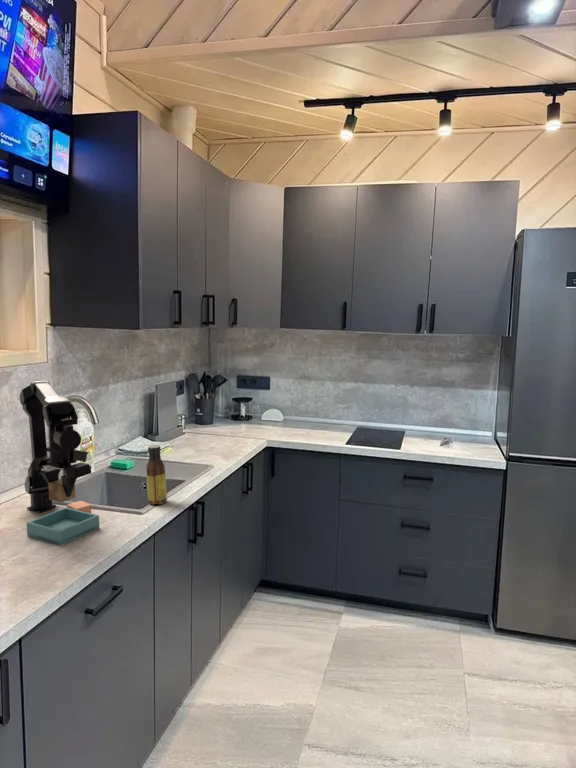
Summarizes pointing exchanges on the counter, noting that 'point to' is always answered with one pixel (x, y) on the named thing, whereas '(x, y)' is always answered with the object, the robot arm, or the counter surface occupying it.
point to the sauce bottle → (156, 477)
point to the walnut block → (59, 491)
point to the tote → (62, 526)
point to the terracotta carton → (80, 506)
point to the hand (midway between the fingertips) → (62, 495)
